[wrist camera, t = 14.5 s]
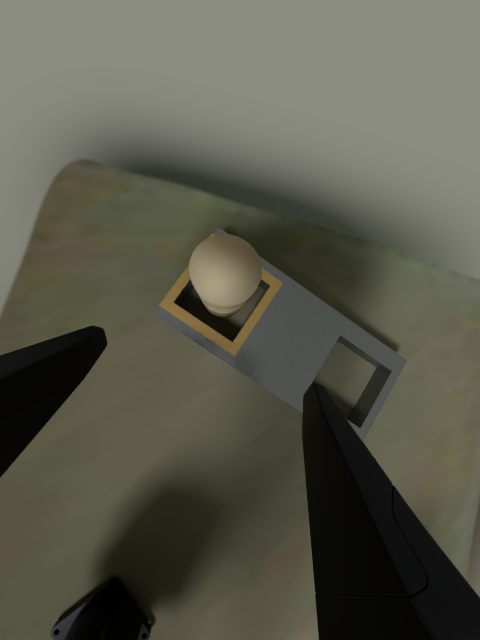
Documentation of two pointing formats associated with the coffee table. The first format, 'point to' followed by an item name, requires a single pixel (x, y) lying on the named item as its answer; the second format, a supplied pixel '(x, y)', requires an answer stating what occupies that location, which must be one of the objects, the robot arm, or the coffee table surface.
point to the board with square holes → (289, 342)
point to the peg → (225, 273)
